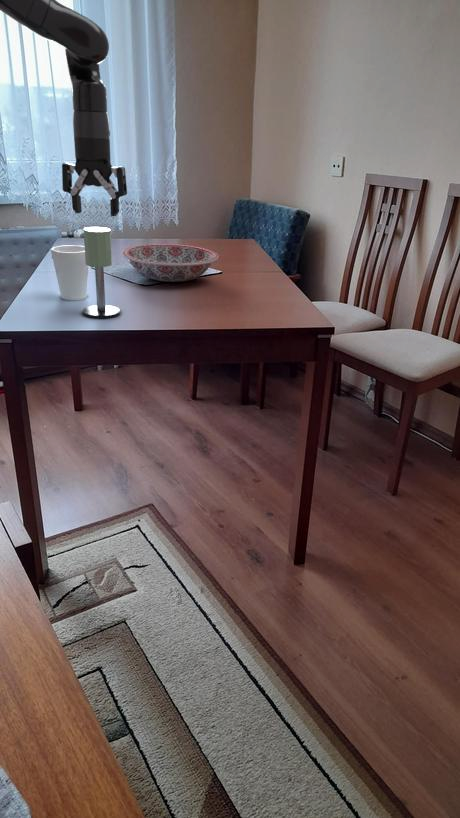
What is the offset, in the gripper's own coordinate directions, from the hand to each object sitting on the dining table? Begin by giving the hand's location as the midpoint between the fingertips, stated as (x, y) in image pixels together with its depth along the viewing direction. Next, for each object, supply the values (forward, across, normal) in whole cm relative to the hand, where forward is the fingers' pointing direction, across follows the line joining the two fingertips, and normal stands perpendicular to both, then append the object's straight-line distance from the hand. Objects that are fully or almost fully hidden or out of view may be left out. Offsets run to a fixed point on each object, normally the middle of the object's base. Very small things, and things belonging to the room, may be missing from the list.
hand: (96, 214), depth 126 cm
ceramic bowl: (+24, +7, +40) cm, 47 cm away
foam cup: (+24, -12, +11) cm, 29 cm away
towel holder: (+24, 0, 0) cm, 24 cm away
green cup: (+11, 0, 0) cm, 11 cm away
